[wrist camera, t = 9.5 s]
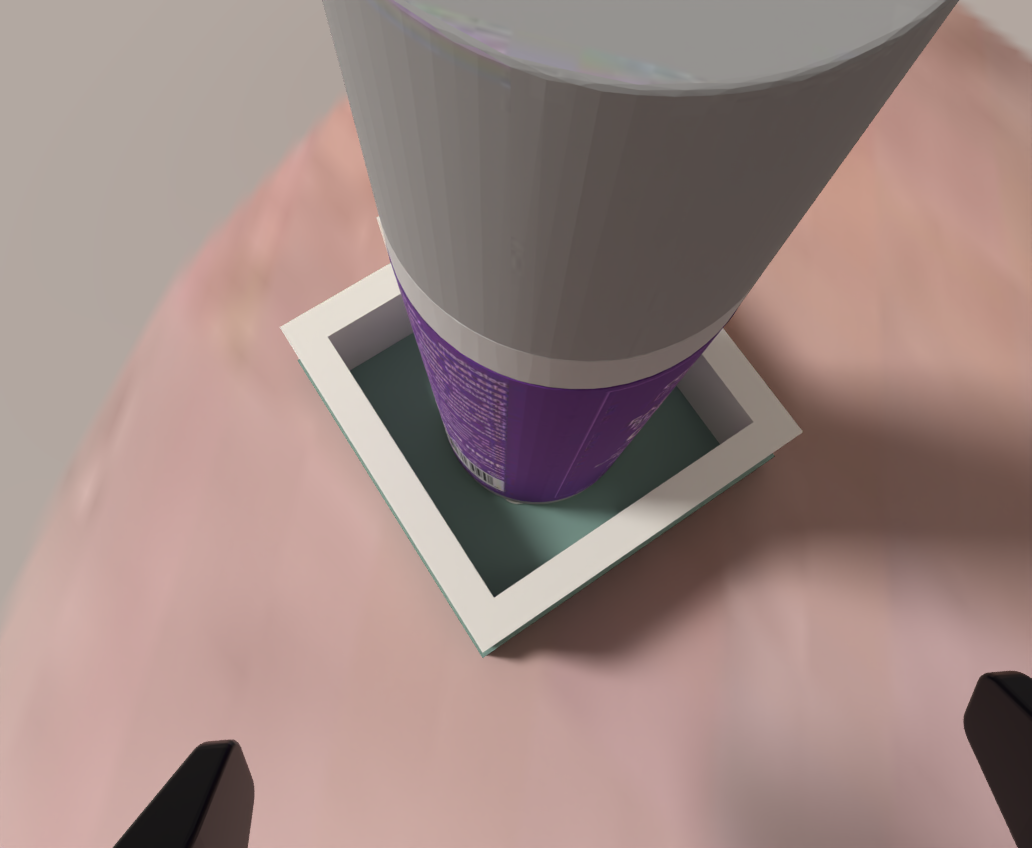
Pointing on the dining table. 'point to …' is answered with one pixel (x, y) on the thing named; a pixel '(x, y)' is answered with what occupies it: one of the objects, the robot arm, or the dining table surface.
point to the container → (596, 193)
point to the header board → (504, 523)
